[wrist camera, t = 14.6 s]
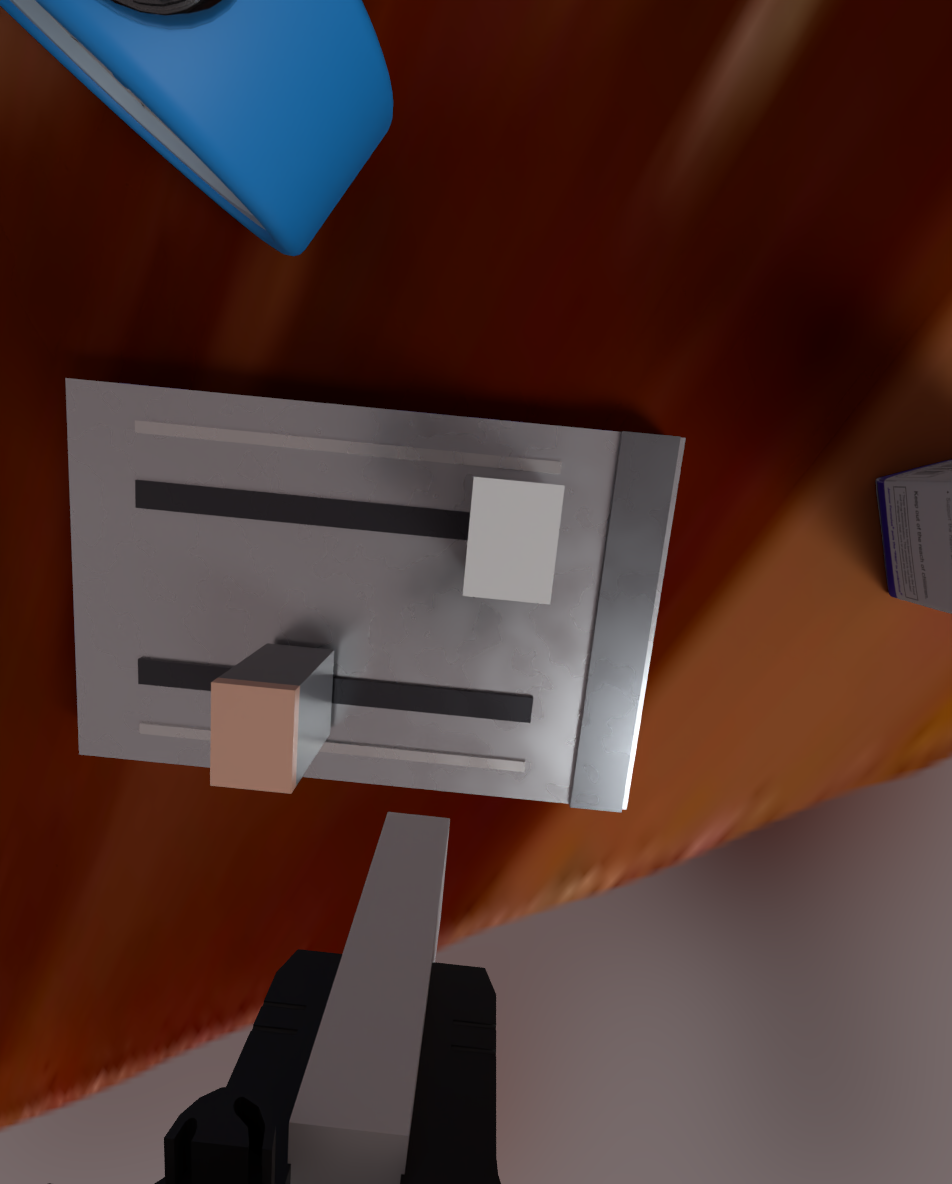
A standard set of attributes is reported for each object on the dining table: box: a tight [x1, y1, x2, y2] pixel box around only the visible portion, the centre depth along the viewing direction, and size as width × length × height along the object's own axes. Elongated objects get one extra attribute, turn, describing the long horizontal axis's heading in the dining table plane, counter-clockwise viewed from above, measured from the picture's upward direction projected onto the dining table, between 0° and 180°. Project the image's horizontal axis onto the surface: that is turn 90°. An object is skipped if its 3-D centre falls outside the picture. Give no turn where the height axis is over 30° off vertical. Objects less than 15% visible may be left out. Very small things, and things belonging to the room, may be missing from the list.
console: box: [65, 378, 686, 812], centre depth 26 cm, size 17×26×2 cm, turn 85°
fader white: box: [463, 477, 565, 604], centre depth 21 cm, size 4×3×5 cm
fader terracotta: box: [210, 643, 334, 794], centre depth 23 cm, size 4×3×5 cm
